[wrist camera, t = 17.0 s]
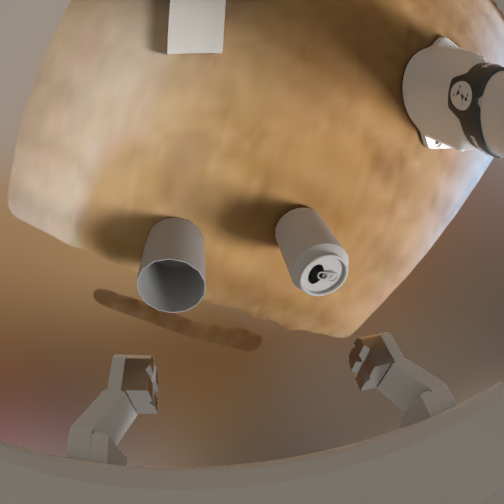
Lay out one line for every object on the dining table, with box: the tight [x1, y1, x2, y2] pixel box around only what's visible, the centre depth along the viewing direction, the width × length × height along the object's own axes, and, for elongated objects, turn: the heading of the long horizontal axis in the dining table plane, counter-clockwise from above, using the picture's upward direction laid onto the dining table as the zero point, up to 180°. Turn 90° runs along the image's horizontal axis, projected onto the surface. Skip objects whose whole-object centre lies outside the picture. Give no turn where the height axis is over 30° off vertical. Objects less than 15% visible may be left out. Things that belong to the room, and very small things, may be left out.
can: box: [275, 208, 349, 296], centre depth 41 cm, size 8×8×12 cm
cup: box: [137, 217, 206, 313], centre depth 40 cm, size 8×8×10 cm
